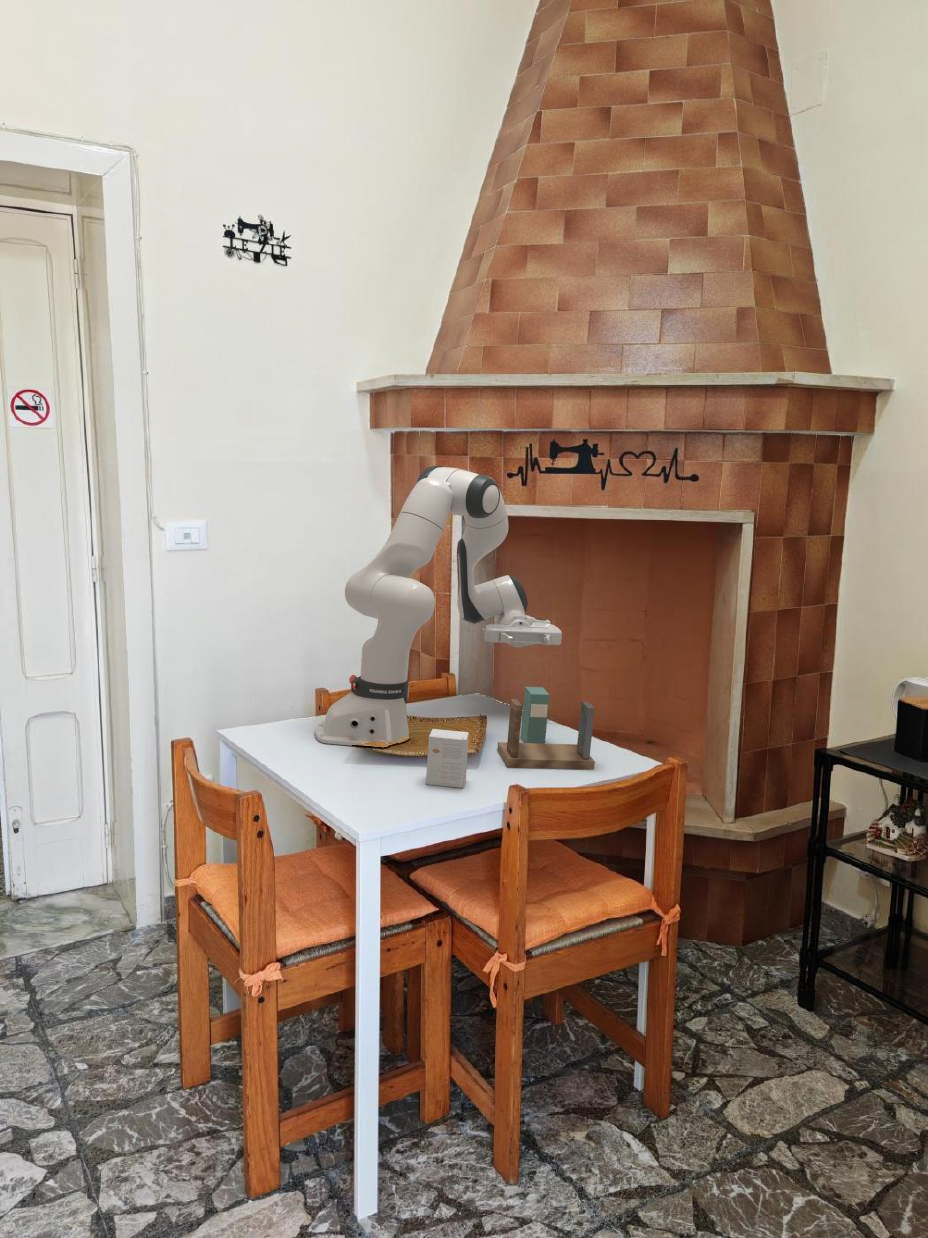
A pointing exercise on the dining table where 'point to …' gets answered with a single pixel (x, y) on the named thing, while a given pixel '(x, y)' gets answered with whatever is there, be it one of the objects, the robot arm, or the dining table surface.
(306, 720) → the dining table surface
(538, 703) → the book
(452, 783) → the small box
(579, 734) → the bookend
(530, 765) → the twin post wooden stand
